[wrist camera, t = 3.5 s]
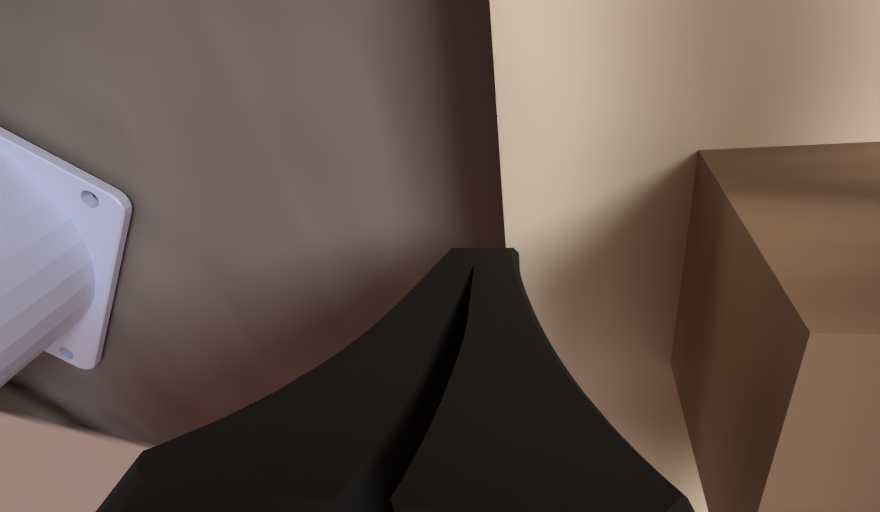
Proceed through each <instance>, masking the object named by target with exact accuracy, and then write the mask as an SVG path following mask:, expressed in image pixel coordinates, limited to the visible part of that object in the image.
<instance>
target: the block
mask: <svg viewBox="0 0 880 512" xmlns="http://www.w3.org/2000/svg"><path fill="white" fill-rule="evenodd" d="M670 365H671V368H672V372H673V376H674V380H675V384H676V388H677V392H678V396H679V400H680V403H681V407H682V411H683V415H684V419H685V423H686V427H687V431H688V434H689V438H690V442H691V446H692V450H693V454H694V458H695V462H696V465H697V469H698V473H699V477H700V481H701V485H702V489H703V493H704V496H705V500H706V504H707V508H708V512H880V142H860V143H839V144H817V145H796V146H774V147H753V148H731V149H710V150H698V156H697V164H696V172H695V179H694V187H693V195H692V202H691V210H690V218H689V225H688V233H687V241H686V248H685V256H684V264H683V271H682V279H681V287H680V294H679V302H678V310H677V317H676V325H675V333H674V340H673V348H672V356H671V363H670Z"/></svg>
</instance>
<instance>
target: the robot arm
mask: <svg viewBox="0 0 880 512" xmlns="http://www.w3.org/2000/svg"><path fill="white" fill-rule="evenodd" d="M91 192H92V193H93V194H94V195H95V196H96V197H97V199H98V200H97V199H96V198H95V197H94V196H93V194H92V193H91ZM131 213H132V205H131V203H130V201H129V199H128V197H127V196H126V195H125V194H124V193H123V192H121V191H120V190H118V189H117V188H115V187H113V186H111V185H109V184H107V183H105V182H103V181H102V180H100V179H98V178H96V177H94V176H92V175H90V174H88V173H86V172H85V171H83V170H81V169H79V168H77V167H75V166H73V165H71V164H69V163H68V162H66V161H64V160H62V159H60V158H58V157H56V156H54V155H52V154H51V153H49V152H47V151H45V150H43V149H41V148H39V147H37V146H35V145H33V144H32V143H30V142H28V141H26V140H24V139H22V138H20V137H18V136H16V135H15V134H13V133H11V132H9V131H7V130H5V129H3V128H1V127H0V387H2V386H3V385H4V384H5V383H6V382H7V381H9V380H10V379H11V378H12V377H13V376H15V375H16V374H17V373H18V372H19V371H20V370H22V369H23V368H24V367H25V366H26V365H27V364H29V363H30V362H31V361H32V360H33V359H34V358H36V357H37V356H38V355H39V354H40V353H42V352H43V351H45V352H47V353H49V354H51V355H54V356H56V357H58V358H60V359H62V360H64V361H66V362H68V363H70V364H72V365H74V366H76V367H78V368H81V369H87V370H90V369H92V368H94V367H95V366H96V365H97V364H98V363H99V361H100V360H101V355H102V351H103V346H104V341H105V336H106V332H107V327H108V322H109V317H110V313H111V308H112V303H113V298H114V294H115V289H116V284H117V279H118V275H119V270H120V265H121V260H122V256H123V251H124V246H125V241H126V237H127V232H128V227H129V222H130V218H131ZM96 512H695V511H694V509H693V507H692V505H691V503H690V501H689V500H688V498H687V497H686V496H685V495H684V494H683V493H682V492H681V491H679V490H678V489H677V488H676V487H675V486H674V485H673V484H671V483H670V482H669V481H668V480H667V479H666V478H665V477H664V476H662V475H661V474H660V473H659V472H658V471H657V470H656V469H655V468H654V467H653V466H652V465H651V464H650V463H649V462H648V461H646V460H645V459H644V458H643V457H642V456H641V455H640V454H639V453H638V452H637V451H636V450H635V449H634V448H633V447H632V446H631V445H630V444H629V443H628V442H627V441H626V440H625V439H624V438H623V436H622V435H621V434H620V433H619V432H618V431H617V430H616V429H615V428H614V427H613V426H612V425H611V424H610V422H609V421H608V420H607V419H606V418H605V417H604V415H603V414H602V413H601V412H600V411H599V409H598V408H597V407H596V406H595V405H594V404H593V402H592V401H591V400H590V399H589V398H588V397H587V395H586V394H585V393H584V392H583V390H582V389H581V388H580V386H579V385H578V384H577V382H576V381H575V380H574V378H573V377H572V376H571V374H570V373H569V371H568V370H567V368H566V367H565V365H564V364H563V362H562V361H561V359H560V358H559V356H558V355H557V353H556V352H555V350H554V348H553V347H552V345H551V343H550V341H549V340H548V338H547V336H546V334H545V332H544V330H543V329H542V327H541V325H540V323H539V321H538V319H537V317H536V315H535V312H534V310H533V308H532V305H531V303H530V300H529V298H528V296H527V293H526V291H525V288H524V285H523V281H522V278H521V274H520V263H519V252H517V251H516V250H515V249H514V248H452V249H451V250H450V251H449V252H448V253H447V254H446V255H445V256H444V257H443V258H442V259H441V260H440V261H439V262H438V263H437V264H436V265H435V267H434V268H433V269H432V270H431V271H430V272H429V273H428V274H427V275H426V276H425V277H424V278H423V279H422V280H421V281H420V282H419V283H418V284H417V285H416V286H415V287H414V288H413V289H412V290H411V291H410V292H409V293H408V294H407V295H406V296H405V297H404V298H403V299H402V300H401V301H400V302H399V303H398V304H397V305H396V306H395V307H394V308H393V309H392V310H391V311H389V312H388V313H387V314H386V315H385V316H384V317H383V318H382V319H380V320H379V321H378V322H377V323H376V324H375V325H374V326H373V327H371V328H370V329H369V330H368V331H366V332H365V333H364V334H363V335H361V336H360V337H359V338H357V339H356V340H355V341H354V342H352V343H351V344H349V345H348V346H347V347H345V348H344V349H343V350H341V351H340V352H338V353H337V354H336V355H334V356H333V357H331V358H330V359H328V360H327V361H325V362H324V363H322V364H321V365H319V366H317V367H316V368H314V369H312V370H311V371H309V372H307V373H306V374H304V375H303V376H301V377H299V378H298V379H296V380H294V381H293V382H291V383H289V384H288V385H286V386H284V387H283V388H281V389H279V390H277V391H276V392H274V393H272V394H270V395H268V396H266V397H264V398H262V399H260V400H259V401H257V402H255V403H253V404H251V405H249V406H247V407H245V408H243V409H241V410H238V411H236V412H234V413H232V414H230V415H228V416H226V417H224V418H222V419H220V420H217V421H215V422H213V423H211V424H208V425H206V426H204V427H201V428H199V429H196V430H194V431H192V432H189V433H187V434H184V435H182V436H179V437H177V438H175V439H172V440H170V441H167V442H165V443H163V444H160V445H158V446H155V447H152V448H150V449H147V450H145V451H143V452H142V453H141V454H140V455H139V457H138V458H137V459H136V460H135V462H134V463H133V464H132V465H131V467H130V468H129V469H128V471H127V472H126V473H125V474H124V476H123V477H122V478H121V480H120V481H119V482H118V484H117V485H116V486H115V487H114V489H113V490H112V491H111V493H110V494H109V495H108V497H107V498H106V499H105V500H104V502H103V503H102V504H101V506H100V507H99V508H98V510H97V511H96Z"/></svg>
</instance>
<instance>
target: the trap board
mask: <svg viewBox="0 0 880 512" xmlns="http://www.w3.org/2000/svg"><path fill="white" fill-rule="evenodd" d="M489 1H490V16H491V32H492V47H493V62H494V77H495V92H496V108H497V123H498V138H499V153H500V168H501V184H502V199H503V214H504V229H505V244H506V248H514V249H515V250H516V251H517V252H519V263H520V274H521V278H522V281H523V285H524V288H525V291H526V293H527V296H528V298H529V300H530V303H531V305H532V308H533V310H534V312H535V315H536V317H537V319H538V321H539V323H540V325H541V327H542V329H543V330H544V332H545V334H546V336H547V338H548V340H549V341H550V343H551V345H552V347H553V348H554V350H555V352H556V353H557V355H558V356H559V358H560V359H561V361H562V362H563V364H564V365H565V367H566V368H567V370H568V371H569V373H570V374H571V376H572V377H573V378H574V380H575V381H576V382H577V384H578V385H579V386H580V388H581V389H582V390H583V392H584V393H585V394H586V395H587V397H588V398H589V399H590V400H591V401H592V402H593V404H594V405H595V406H596V407H597V408H598V409H599V411H600V412H601V413H602V414H603V415H604V417H605V418H606V419H607V420H608V421H609V422H610V424H611V425H612V426H613V427H614V428H615V429H616V430H617V431H618V432H619V433H620V434H621V435H622V436H623V438H624V439H625V440H626V441H627V442H628V443H629V444H630V445H631V446H632V447H633V448H634V449H635V450H636V451H637V452H638V453H639V454H640V455H641V456H642V457H643V458H644V459H645V460H646V461H648V462H649V463H650V464H651V465H652V466H653V467H654V468H655V469H656V470H657V471H658V472H659V473H660V474H661V475H662V476H664V477H665V478H666V479H667V480H668V481H669V482H670V483H671V484H673V485H674V486H675V487H676V488H677V489H678V490H679V491H681V492H682V493H683V494H684V495H685V496H686V497H687V498H688V500H689V501H690V503H691V505H692V507H693V509H694V511H695V512H708V508H707V504H706V500H705V496H704V493H703V489H702V485H701V481H700V477H699V473H698V469H697V465H696V462H695V458H694V454H693V450H692V446H691V442H690V438H689V434H688V431H687V427H686V423H685V419H684V415H683V411H682V407H681V403H680V400H679V396H678V392H677V388H676V384H675V380H674V376H673V372H672V368H671V365H670V363H671V356H672V348H673V340H674V333H675V325H676V317H677V310H678V302H679V294H680V287H681V279H682V271H683V264H684V256H685V248H686V241H687V233H688V225H689V218H690V210H691V202H692V195H693V187H694V179H695V172H696V164H697V156H698V150H710V149H731V148H753V147H774V146H796V145H817V144H839V143H860V142H880V0H489Z"/></svg>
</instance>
